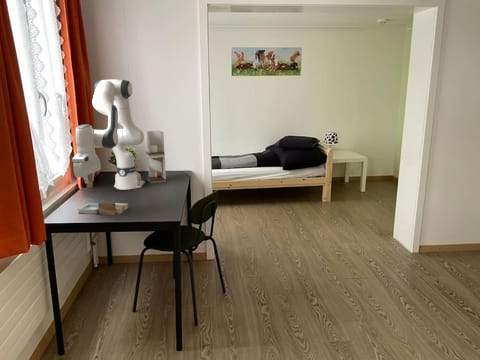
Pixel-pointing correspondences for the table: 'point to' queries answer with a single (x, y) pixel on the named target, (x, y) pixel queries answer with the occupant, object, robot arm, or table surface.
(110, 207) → the wooden block
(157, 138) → the display case
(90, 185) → the dowel
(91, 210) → the tray
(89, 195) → the table surface
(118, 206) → the board
